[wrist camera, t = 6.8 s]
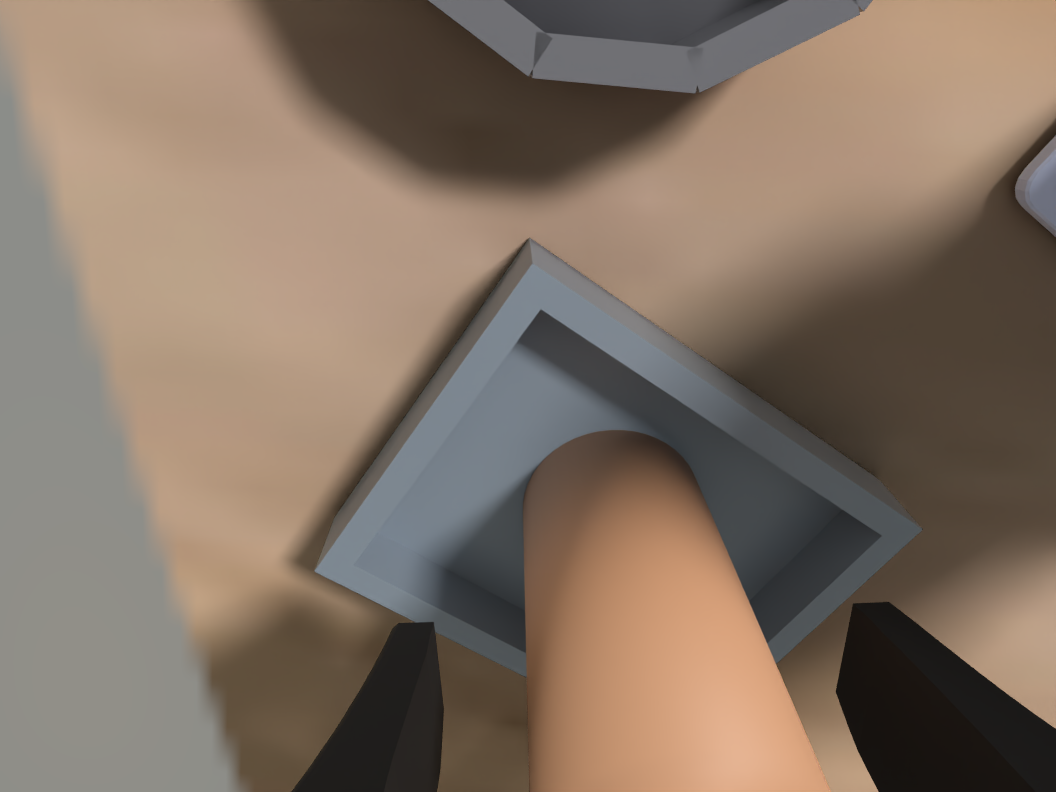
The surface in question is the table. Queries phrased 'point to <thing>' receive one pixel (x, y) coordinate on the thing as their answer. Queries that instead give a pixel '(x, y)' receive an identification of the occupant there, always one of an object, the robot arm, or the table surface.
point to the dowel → (645, 635)
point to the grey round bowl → (645, 36)
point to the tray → (575, 410)
